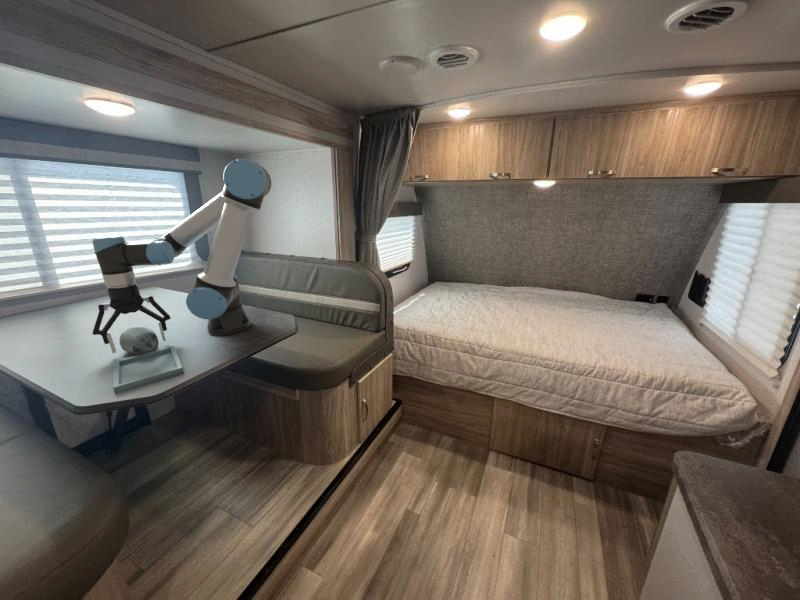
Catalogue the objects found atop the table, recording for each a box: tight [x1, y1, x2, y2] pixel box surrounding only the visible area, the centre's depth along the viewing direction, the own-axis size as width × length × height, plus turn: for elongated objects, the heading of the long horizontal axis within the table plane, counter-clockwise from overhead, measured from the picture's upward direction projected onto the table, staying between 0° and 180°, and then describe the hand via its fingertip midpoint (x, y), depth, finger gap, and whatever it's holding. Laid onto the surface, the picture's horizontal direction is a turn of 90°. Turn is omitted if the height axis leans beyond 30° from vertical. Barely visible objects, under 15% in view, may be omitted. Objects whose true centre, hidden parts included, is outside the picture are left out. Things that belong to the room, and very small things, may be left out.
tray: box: [112, 345, 185, 395], centre depth 94 cm, size 15×19×2 cm
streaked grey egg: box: [119, 326, 159, 355], centre depth 106 cm, size 14×10×10 cm
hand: (140, 345), depth 106 cm, fingers open, 13 cm apart
